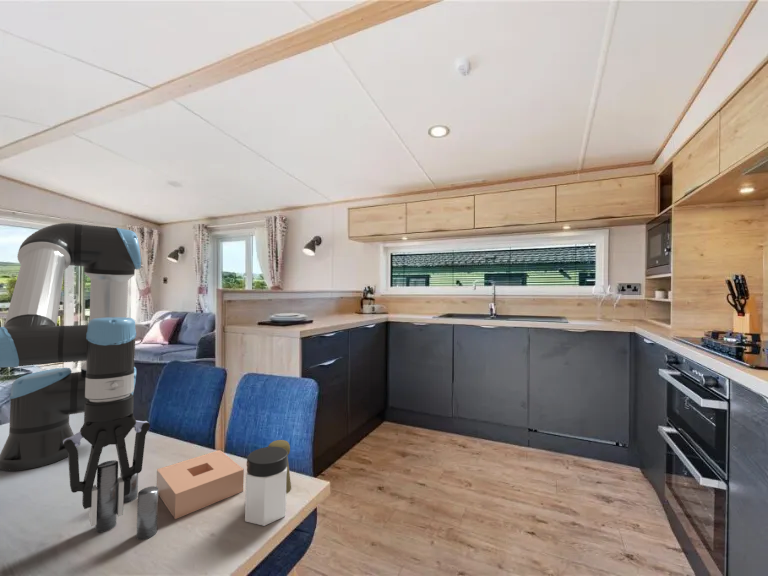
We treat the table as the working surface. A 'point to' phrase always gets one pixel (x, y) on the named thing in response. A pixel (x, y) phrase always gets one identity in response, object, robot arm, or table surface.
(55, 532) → the table surface
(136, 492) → the short pin
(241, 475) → the socket block
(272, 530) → the table surface
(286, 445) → the olive pawn
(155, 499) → the medium pin
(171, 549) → the table surface
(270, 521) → the jar
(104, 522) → the long pin
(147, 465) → the table surface
